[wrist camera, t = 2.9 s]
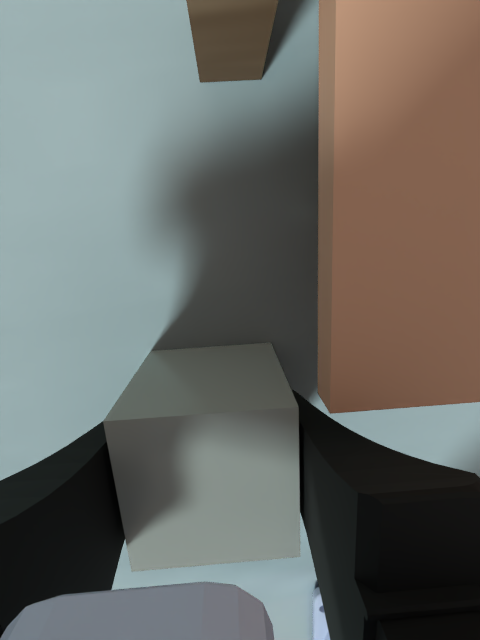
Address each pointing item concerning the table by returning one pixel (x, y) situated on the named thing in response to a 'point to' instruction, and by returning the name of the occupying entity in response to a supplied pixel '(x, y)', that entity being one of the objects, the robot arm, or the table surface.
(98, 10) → the table surface
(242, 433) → the stone block
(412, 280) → the trapdoor
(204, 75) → the frame
